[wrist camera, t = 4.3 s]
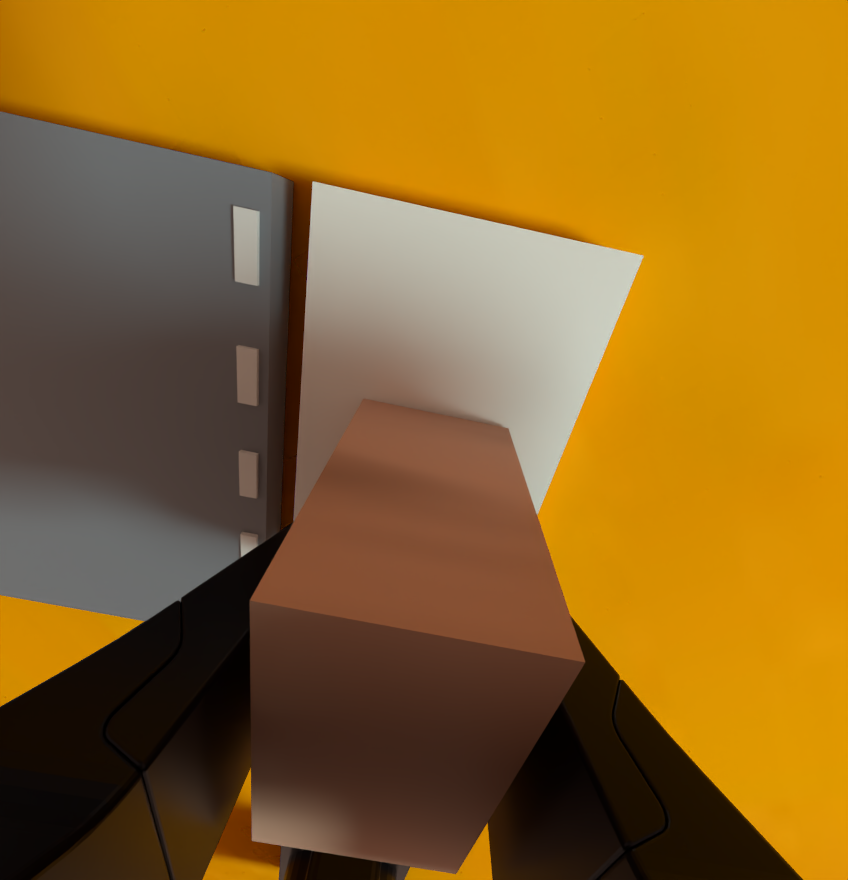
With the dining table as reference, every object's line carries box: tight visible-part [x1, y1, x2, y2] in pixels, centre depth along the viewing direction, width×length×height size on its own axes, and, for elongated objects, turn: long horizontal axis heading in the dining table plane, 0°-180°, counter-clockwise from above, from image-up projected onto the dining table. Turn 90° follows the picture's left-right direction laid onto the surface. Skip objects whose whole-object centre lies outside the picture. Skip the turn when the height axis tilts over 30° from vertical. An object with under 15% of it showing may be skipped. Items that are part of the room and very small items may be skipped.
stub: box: [250, 181, 643, 874], centre depth 7 cm, size 12×6×6 cm, turn 169°
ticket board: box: [0, 112, 294, 621], centre depth 9 cm, size 12×12×1 cm
